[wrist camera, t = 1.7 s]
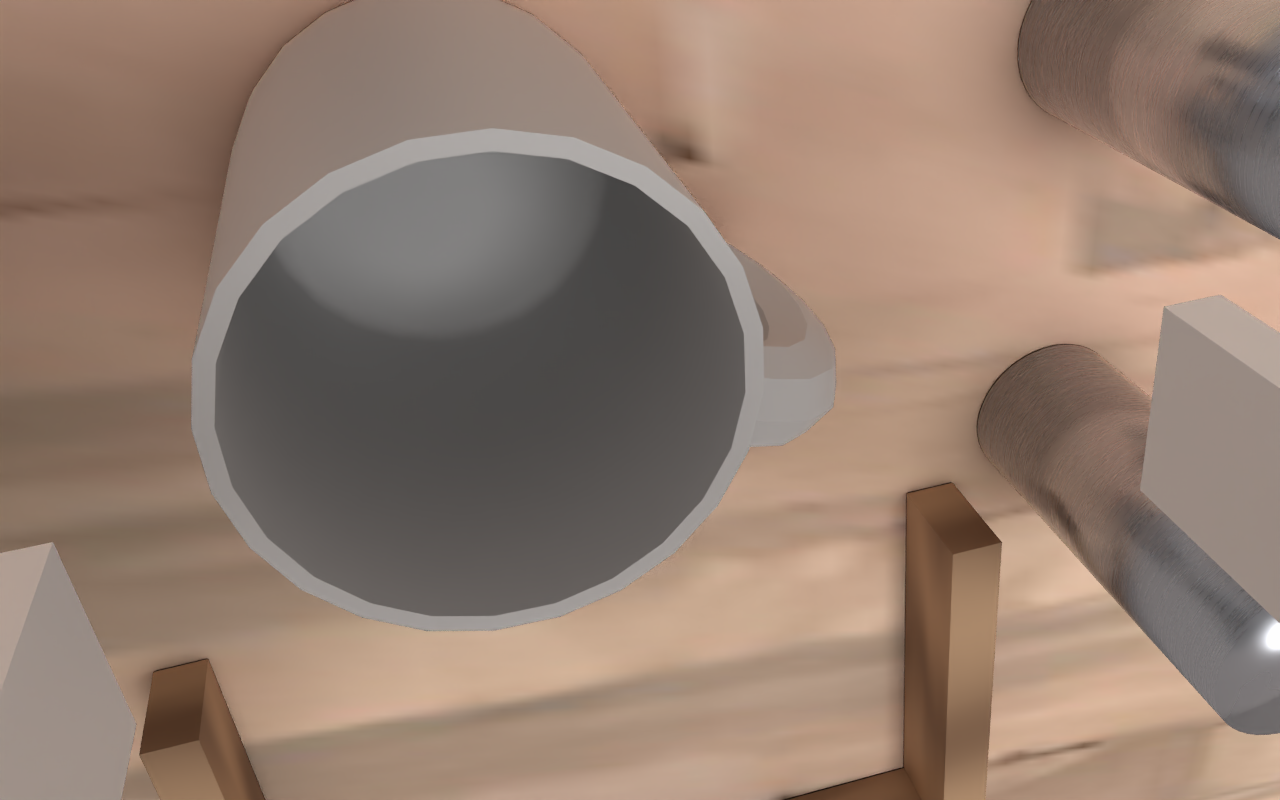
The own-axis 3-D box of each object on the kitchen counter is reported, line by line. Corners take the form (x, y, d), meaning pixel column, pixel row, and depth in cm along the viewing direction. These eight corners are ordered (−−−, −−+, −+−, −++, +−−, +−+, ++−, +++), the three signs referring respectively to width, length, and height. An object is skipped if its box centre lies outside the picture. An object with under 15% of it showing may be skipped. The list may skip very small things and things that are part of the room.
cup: (271, -76, 20) (244, 53, 12) (798, 77, 23) (1029, 252, 16) (204, 309, 23) (149, 605, 15) (680, 395, 26) (826, 669, 19)
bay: (153, 672, 27) (139, 754, 24) (952, 482, 29) (1002, 542, 27) (283, 967, 32) (281, 1054, 30) (941, 785, 35) (981, 854, 33)
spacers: (-682, -391, 15) (-1654, -492, 8) (1256, -591, 19) (1861, -785, 12) (-39, 728, 26) (-184, 1145, 18) (1124, 451, 30) (1396, 700, 22)
